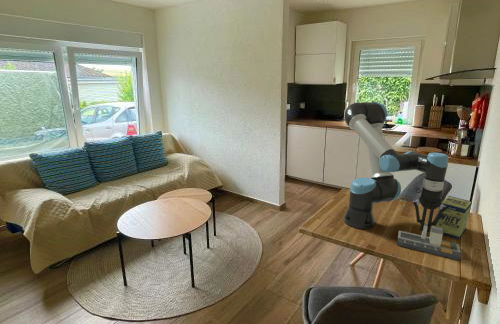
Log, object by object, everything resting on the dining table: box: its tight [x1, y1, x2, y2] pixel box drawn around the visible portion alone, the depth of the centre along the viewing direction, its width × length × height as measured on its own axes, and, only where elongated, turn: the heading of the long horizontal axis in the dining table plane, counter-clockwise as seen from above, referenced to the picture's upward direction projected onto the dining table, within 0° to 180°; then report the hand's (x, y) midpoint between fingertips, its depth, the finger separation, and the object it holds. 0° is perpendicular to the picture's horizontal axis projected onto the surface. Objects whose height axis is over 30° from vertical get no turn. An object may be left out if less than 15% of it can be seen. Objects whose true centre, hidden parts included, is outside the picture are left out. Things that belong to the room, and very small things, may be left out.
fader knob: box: [429, 226, 444, 246], centre depth 131 cm, size 4×5×7 cm
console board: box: [396, 229, 462, 262], centre depth 134 cm, size 24×12×3 cm, turn 62°
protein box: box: [435, 195, 473, 240], centre depth 146 cm, size 10×16×16 cm
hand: (423, 237), depth 133 cm, fingers closed
